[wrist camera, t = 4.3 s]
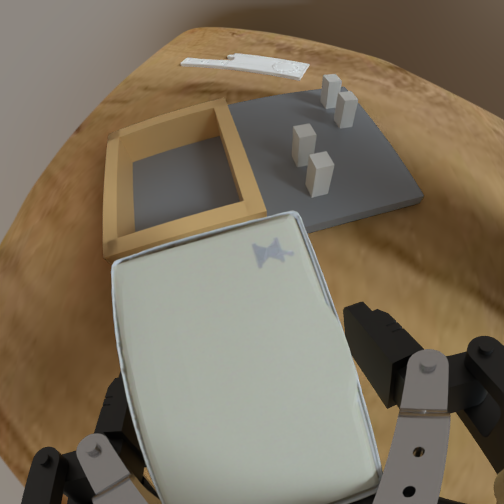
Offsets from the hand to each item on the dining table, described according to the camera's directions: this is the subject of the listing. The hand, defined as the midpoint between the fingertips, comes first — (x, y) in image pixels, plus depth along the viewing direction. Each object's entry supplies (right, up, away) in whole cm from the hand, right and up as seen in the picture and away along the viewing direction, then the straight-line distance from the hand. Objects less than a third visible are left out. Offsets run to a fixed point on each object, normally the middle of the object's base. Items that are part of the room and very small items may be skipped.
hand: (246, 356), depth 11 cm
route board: (+1, +11, +12) cm, 16 cm away
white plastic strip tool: (-1, +26, +20) cm, 33 cm away
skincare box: (+1, -3, +5) cm, 6 cm away
